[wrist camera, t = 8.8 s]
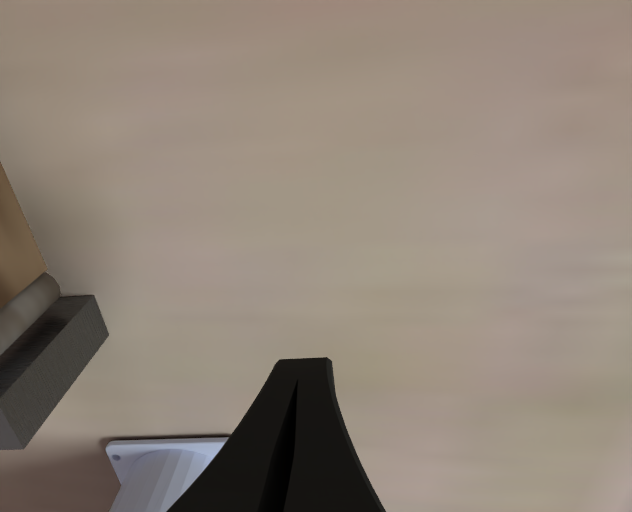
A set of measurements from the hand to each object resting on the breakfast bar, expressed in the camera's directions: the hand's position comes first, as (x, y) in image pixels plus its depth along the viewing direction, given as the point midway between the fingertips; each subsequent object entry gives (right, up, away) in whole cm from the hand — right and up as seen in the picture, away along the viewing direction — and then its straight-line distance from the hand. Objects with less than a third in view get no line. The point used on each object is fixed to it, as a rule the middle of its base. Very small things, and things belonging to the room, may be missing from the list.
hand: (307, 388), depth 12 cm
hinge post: (-12, 0, +11) cm, 16 cm away
